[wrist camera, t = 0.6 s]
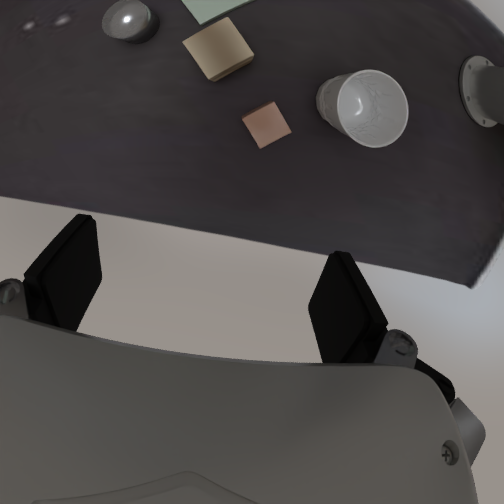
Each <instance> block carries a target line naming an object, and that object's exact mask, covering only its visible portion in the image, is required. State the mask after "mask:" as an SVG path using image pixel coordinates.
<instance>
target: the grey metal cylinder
mask: <svg viewBox="0 0 504 504" xmlns="http://www.w3.org/2000/svg"><path fill="white" fill-rule="evenodd" d="M159 23H160V22H159V18H158V16H157V15H156V14H155V13H154V12H153V11H152V10H150V9H149V8H148V7H146V6H145V5H144V4H143V3H141V2H140V1H139V0H120V1H118V2H116V3H115V4H113V5H112V6H111V7H110V8H109V9H108V10H107V12H106V13H105V15H104V17H103V21H102V28H103V30H104V32H105V33H106V34H107V35H109V36H111V37H114V38H117V39H120V40H123V41H126V42H129V43H132V44H140V43H144V42H146V41H148V40H149V39H151V38H152V37H153V36H154V35H155V34H156V32H157V30H158V28H159Z"/></svg>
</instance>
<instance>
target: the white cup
mask: <svg viewBox="0 0 504 504" xmlns="http://www.w3.org/2000/svg"><path fill="white" fill-rule="evenodd" d="M316 105H317V110H318V111H319V113H320V115H321V116H322V118H323V119H324V120H326V121H327V122H328V123H330V124H331V125H332V126H333V127H335V128H336V129H337V130H339V131H340V132H342V133H343V134H345V135H347V136H348V137H350V138H351V139H353V140H354V141H356V142H358V143H359V144H361V145H364V146H367V147H374V148H377V147H383V146H387V145H389V144H391V143H393V142H394V141H395V140H397V139H398V138H399V137H400V135H401V134H402V133H403V131H404V129H405V127H406V124H407V121H408V103H407V99H406V96H405V94H404V92H403V90H402V88H401V87H400V85H399V84H398V83H397V82H396V81H395V80H394V79H393V78H392V77H390V76H389V75H387V74H385V73H383V72H380V71H377V70H362V71H357V72H352V73H348V74H343V75H340V76H337V77H335V78H332V79H328V80H327V81H326V82H324V83H323V84H322V85H321V86H320V87H319V90H318V92H317V95H316Z"/></svg>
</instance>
